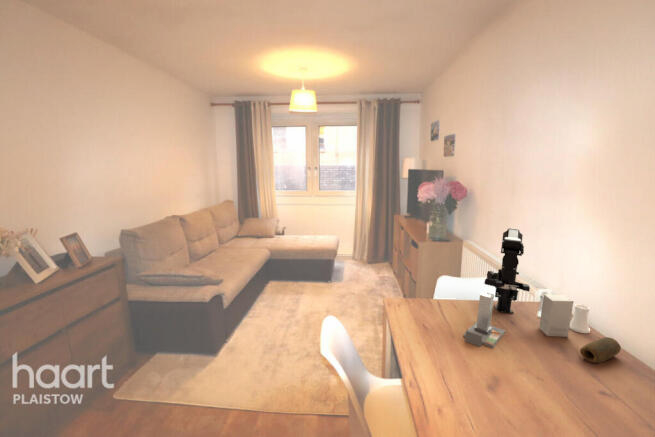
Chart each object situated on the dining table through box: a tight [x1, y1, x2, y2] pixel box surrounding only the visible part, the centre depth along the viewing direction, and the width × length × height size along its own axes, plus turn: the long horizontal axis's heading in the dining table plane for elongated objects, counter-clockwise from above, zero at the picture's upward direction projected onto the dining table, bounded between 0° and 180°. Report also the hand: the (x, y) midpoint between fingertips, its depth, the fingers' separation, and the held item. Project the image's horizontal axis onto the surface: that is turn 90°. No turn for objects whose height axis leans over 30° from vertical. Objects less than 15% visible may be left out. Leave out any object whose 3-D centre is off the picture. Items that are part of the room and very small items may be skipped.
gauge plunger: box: [474, 291, 500, 335], centre depth 126 cm, size 5×9×15 cm, turn 47°
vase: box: [569, 303, 591, 334], centre depth 133 cm, size 8×8×10 cm
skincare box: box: [538, 293, 574, 338], centre depth 129 cm, size 8×7×16 cm
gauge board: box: [462, 321, 506, 349], centre depth 126 cm, size 19×11×4 cm, turn 137°
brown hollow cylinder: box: [579, 336, 622, 364], centre depth 113 cm, size 15×7×7 cm, turn 118°
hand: (504, 304), depth 134 cm, fingers closed
